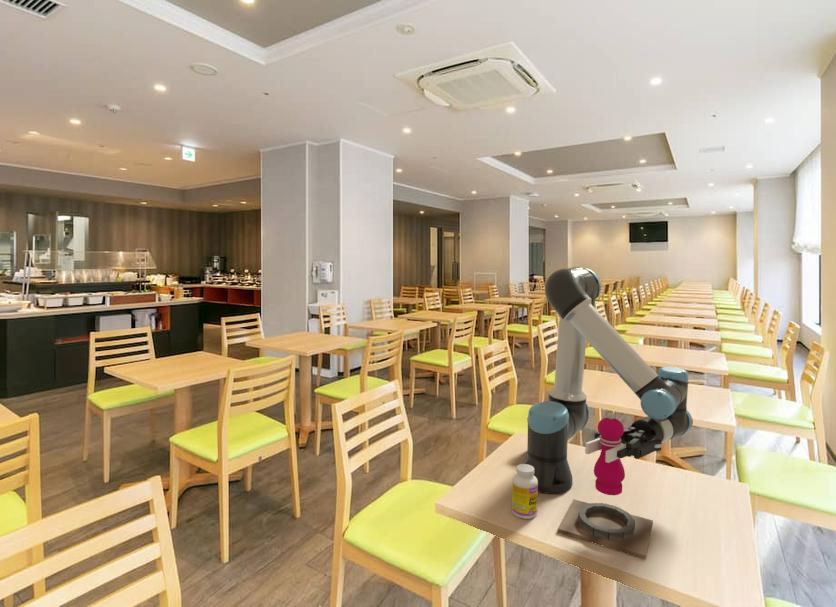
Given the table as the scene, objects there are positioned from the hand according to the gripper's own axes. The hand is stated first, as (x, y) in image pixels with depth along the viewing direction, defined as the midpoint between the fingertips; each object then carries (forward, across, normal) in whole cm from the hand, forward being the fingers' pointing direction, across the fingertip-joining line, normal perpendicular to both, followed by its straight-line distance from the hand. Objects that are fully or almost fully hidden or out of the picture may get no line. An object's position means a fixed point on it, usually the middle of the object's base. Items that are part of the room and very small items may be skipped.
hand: (596, 452), depth 114 cm
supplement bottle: (+7, +17, -22) cm, 28 cm away
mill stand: (-5, 0, -22) cm, 22 cm away
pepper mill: (-5, 0, -11) cm, 12 cm away
